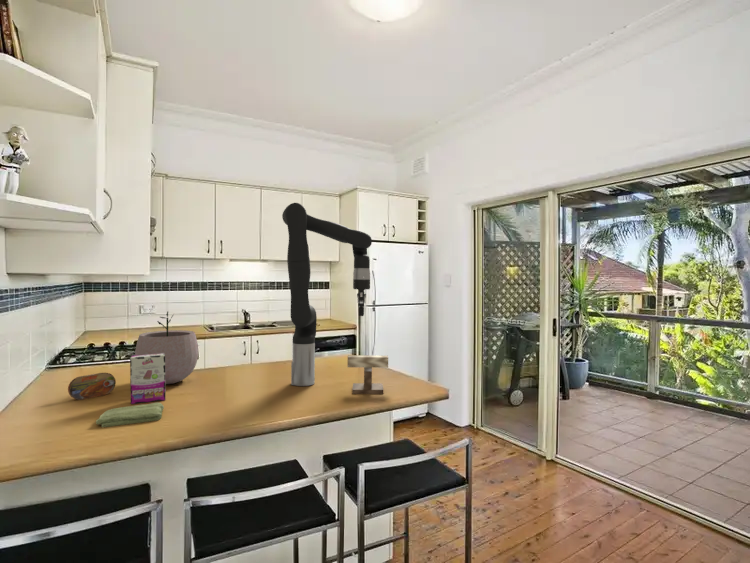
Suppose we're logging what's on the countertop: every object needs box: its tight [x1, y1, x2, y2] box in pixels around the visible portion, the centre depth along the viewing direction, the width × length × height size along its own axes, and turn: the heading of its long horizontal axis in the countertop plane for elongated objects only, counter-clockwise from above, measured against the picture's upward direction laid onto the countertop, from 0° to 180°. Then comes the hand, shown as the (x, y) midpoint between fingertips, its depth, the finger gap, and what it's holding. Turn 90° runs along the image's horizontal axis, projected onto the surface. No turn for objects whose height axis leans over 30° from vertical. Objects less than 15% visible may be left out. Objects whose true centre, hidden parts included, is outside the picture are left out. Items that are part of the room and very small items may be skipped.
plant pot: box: [134, 311, 199, 385], centre depth 180 cm, size 24×24×30 cm
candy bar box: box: [129, 353, 166, 405], centre depth 154 cm, size 11×5×16 cm, turn 118°
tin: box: [67, 372, 117, 401], centre depth 159 cm, size 15×3×8 cm, turn 143°
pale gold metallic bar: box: [347, 354, 389, 369], centre depth 171 cm, size 16×4×4 cm, turn 91°
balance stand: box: [351, 367, 384, 395], centre depth 171 cm, size 12×10×10 cm
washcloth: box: [95, 402, 165, 428], centre depth 135 cm, size 13×18×3 cm
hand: (361, 315), depth 191 cm, fingers open, 8 cm apart
